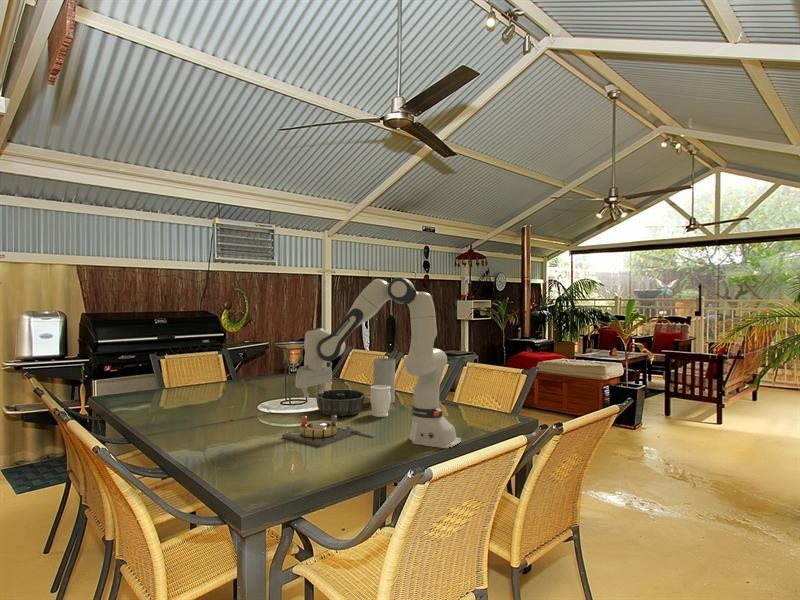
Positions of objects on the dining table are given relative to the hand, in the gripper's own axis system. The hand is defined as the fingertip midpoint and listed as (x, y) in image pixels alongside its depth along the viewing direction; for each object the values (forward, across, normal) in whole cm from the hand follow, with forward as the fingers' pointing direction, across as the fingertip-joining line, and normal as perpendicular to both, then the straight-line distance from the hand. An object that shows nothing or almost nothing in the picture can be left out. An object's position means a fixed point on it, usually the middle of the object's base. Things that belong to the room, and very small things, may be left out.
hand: (313, 395), depth 213 cm
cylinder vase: (+17, +70, +11) cm, 73 cm away
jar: (+17, +44, -5) cm, 47 cm away
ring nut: (+15, -2, -5) cm, 16 cm away
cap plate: (+17, -2, -5) cm, 18 cm away
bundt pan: (+17, +36, +15) cm, 42 cm away
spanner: (+17, +11, -18) cm, 27 cm away
